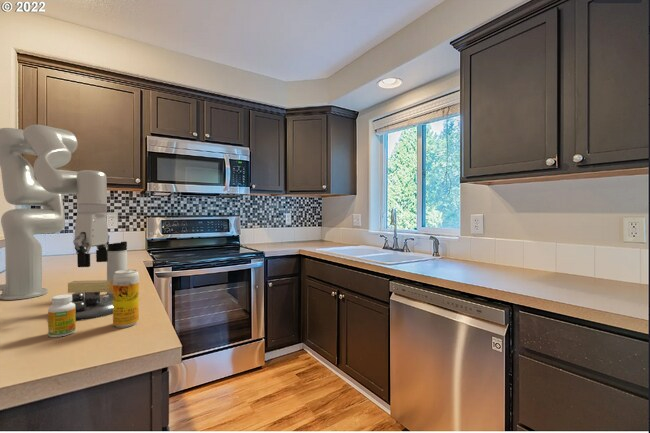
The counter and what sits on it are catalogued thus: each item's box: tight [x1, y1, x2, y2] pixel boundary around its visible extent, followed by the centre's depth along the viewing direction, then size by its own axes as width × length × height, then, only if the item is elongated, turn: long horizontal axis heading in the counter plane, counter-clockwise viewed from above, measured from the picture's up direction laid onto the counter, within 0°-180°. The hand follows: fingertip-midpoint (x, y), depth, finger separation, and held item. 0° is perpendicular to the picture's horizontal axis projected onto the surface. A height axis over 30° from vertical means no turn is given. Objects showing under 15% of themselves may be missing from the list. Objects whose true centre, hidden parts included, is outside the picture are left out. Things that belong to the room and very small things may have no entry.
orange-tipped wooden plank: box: [67, 279, 113, 305], centre depth 98 cm, size 13×4×7 cm, turn 99°
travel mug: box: [106, 241, 128, 296], centre depth 116 cm, size 6×7×20 cm
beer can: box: [112, 268, 140, 329], centre depth 87 cm, size 6×6×15 cm
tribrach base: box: [71, 293, 113, 321], centre depth 98 cm, size 18×18×4 cm
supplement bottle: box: [47, 293, 76, 338], centre depth 80 cm, size 5×5×10 cm
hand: (93, 264), depth 98 cm, fingers open, 9 cm apart
